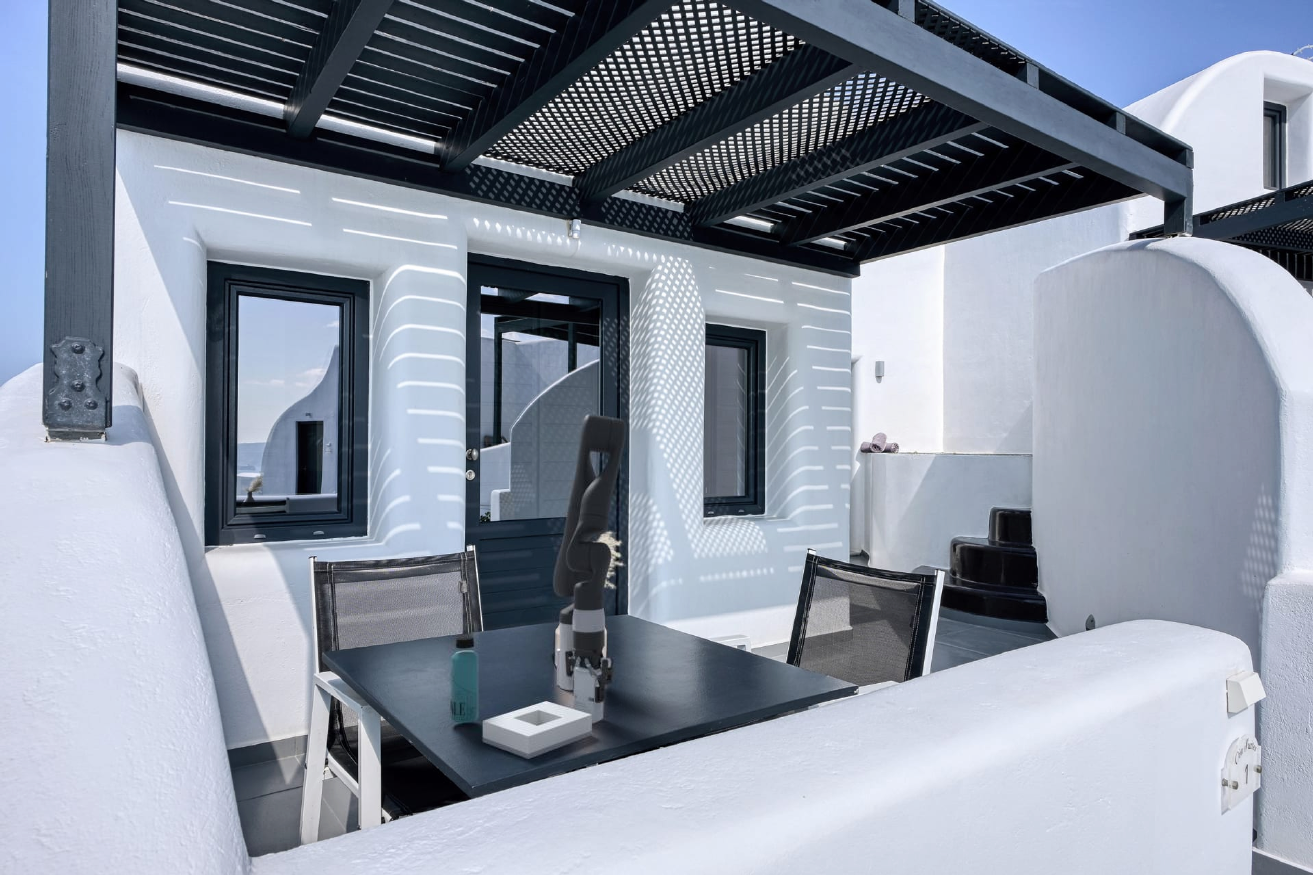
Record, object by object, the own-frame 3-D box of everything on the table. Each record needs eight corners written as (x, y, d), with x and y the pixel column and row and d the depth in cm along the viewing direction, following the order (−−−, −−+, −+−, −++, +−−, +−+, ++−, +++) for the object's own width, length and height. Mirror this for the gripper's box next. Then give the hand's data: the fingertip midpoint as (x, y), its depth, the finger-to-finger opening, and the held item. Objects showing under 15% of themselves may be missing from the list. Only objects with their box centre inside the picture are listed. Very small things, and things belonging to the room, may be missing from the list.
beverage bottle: (481, 720, 184) (482, 633, 184) (476, 729, 177) (476, 640, 177) (453, 720, 183) (454, 634, 184) (447, 730, 177) (447, 640, 177)
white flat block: (482, 741, 169) (482, 720, 169) (546, 720, 183) (546, 701, 183) (528, 759, 159) (528, 736, 160) (591, 735, 173) (591, 714, 173)
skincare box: (572, 720, 183) (572, 667, 184) (583, 714, 187) (583, 663, 187) (594, 724, 180) (594, 671, 180) (604, 718, 184) (604, 666, 184)
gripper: (622, 629, 182) (622, 701, 182) (579, 620, 192) (578, 689, 191) (599, 634, 177) (599, 709, 176) (556, 625, 186) (555, 697, 186)
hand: (588, 699), depth 184 cm, fingers closed on skincare box, 6 cm apart
